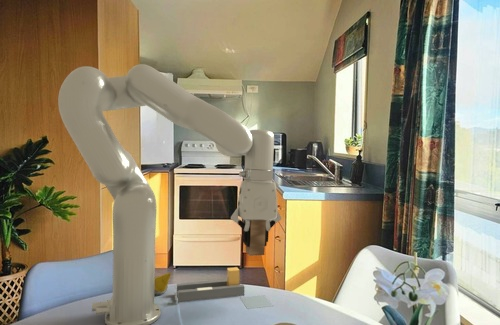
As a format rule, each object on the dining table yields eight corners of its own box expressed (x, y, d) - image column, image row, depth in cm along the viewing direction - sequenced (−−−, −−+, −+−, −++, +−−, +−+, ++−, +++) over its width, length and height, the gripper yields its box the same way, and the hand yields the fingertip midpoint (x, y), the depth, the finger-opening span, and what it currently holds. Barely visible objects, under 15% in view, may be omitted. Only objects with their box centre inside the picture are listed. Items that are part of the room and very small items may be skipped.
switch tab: (228, 289, 93) (229, 270, 93) (226, 286, 95) (227, 268, 95) (239, 288, 94) (239, 270, 94) (236, 285, 96) (237, 267, 96)
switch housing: (178, 303, 87) (178, 292, 87) (176, 294, 93) (176, 283, 93) (244, 297, 92) (244, 285, 92) (238, 288, 98) (238, 278, 98)
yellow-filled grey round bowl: (163, 289, 98) (181, 270, 94) (156, 303, 93) (176, 285, 89) (148, 279, 97) (166, 260, 93) (140, 293, 92) (159, 274, 88)
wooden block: (249, 255, 86) (251, 217, 86) (245, 251, 89) (247, 214, 89) (264, 255, 87) (266, 217, 87) (259, 250, 90) (261, 214, 90)
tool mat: (247, 310, 84) (247, 308, 84) (240, 299, 91) (240, 297, 91) (273, 307, 86) (273, 305, 86) (264, 296, 93) (264, 295, 93)
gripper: (231, 176, 82) (227, 249, 82) (292, 178, 87) (289, 247, 87) (224, 174, 89) (221, 242, 89) (282, 176, 94) (279, 241, 94)
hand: (255, 244), depth 88 cm, fingers closed on wooden block, 4 cm apart
